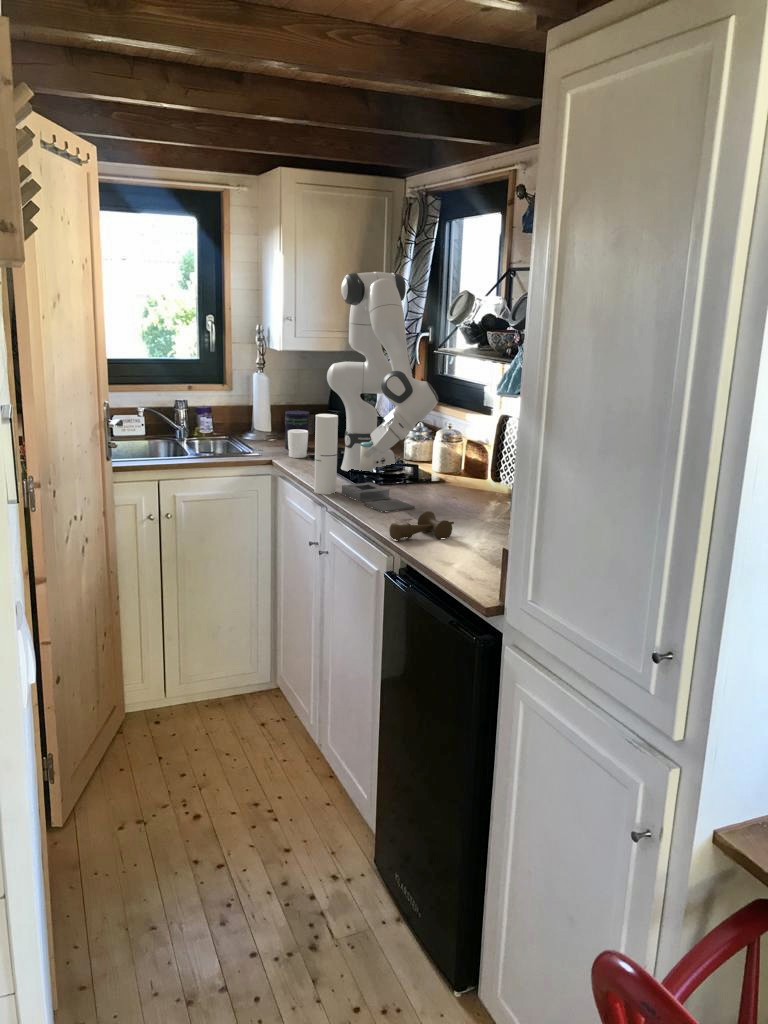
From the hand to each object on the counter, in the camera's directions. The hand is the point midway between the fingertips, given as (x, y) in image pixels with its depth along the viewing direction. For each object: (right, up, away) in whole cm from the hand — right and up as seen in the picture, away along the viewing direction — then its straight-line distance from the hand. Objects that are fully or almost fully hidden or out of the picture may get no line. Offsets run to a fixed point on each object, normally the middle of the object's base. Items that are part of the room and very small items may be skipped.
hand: (364, 454), depth 267 cm
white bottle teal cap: (0, -5, +1) cm, 5 cm away
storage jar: (-29, +7, +76) cm, 81 cm away
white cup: (-28, +3, +61) cm, 67 cm away
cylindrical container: (-13, -12, +7) cm, 19 cm away
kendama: (+17, -25, -37) cm, 48 cm away
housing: (0, -13, +3) cm, 14 cm away
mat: (+8, -17, -8) cm, 20 cm away
